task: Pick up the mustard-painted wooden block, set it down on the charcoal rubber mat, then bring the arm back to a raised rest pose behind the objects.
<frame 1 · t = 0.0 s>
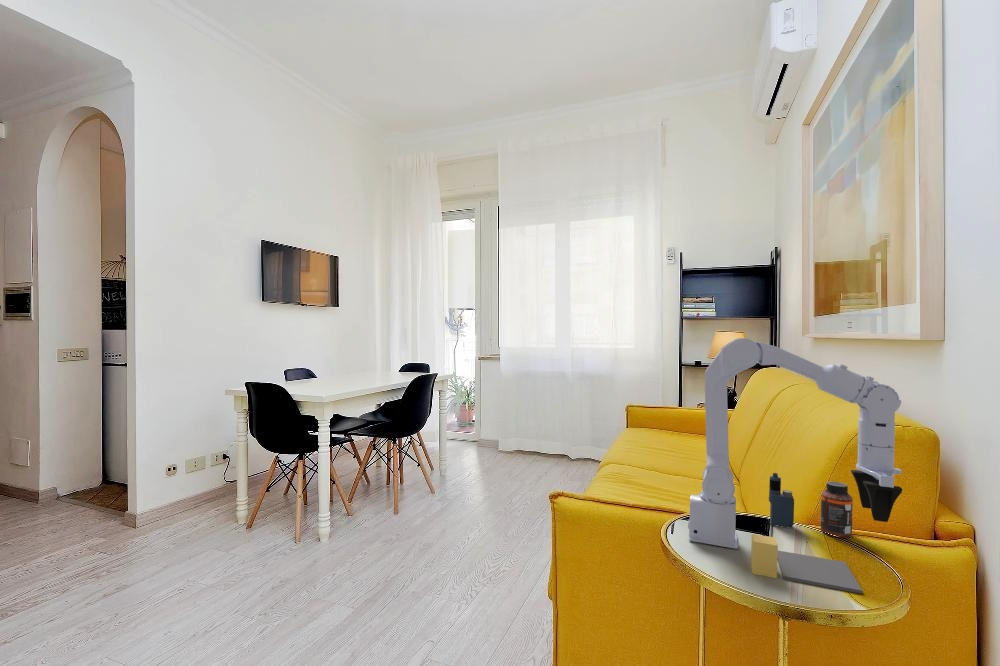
hand: (874, 514, 97), 10 cm above the table, fingers open, 7 cm apart
charcoal mat: (815, 571, 94), on the table
supplement bottle: (835, 534, 113), on the table
vaping device: (780, 526, 117), on the table
mustard block: (763, 571, 94), on the table
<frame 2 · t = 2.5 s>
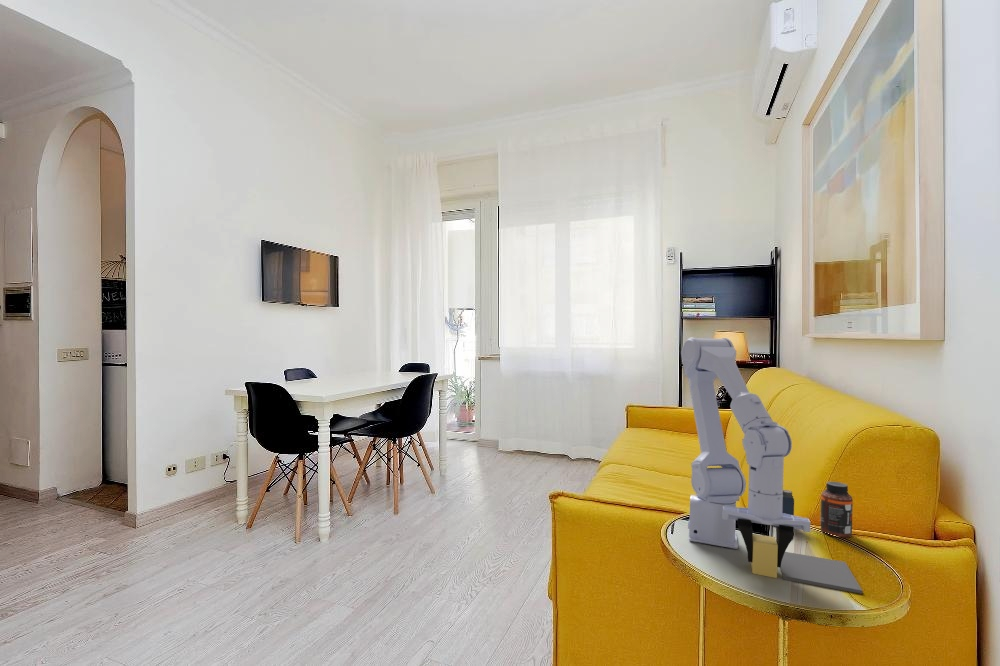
hand: (763, 562, 94), 2 cm above the table, fingers closed on mustard block, 4 cm apart
mustard block: (763, 571, 94), on the table, touching gripper
everything else where it was.
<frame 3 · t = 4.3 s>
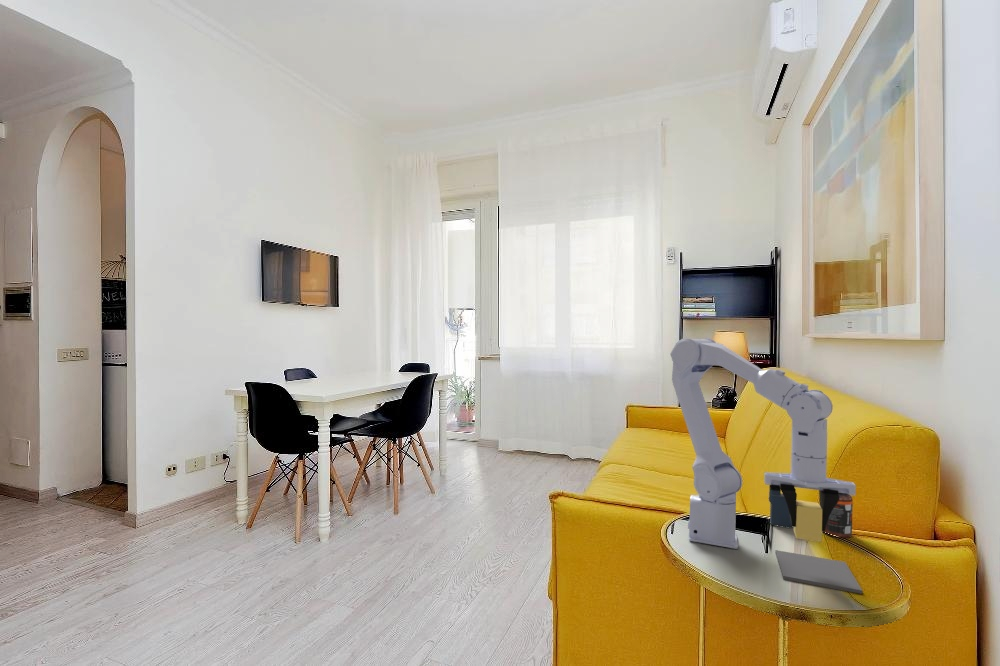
hand: (807, 527, 94), 8 cm above the table, fingers closed on mustard block, 4 cm apart
mustard block: (807, 536, 94), point 7 cm above the table, touching gripper
everything else where it was.
when the fingers open (4 cm above the table, at t = 6.0 s): mustard block drops 1 cm, resting on charcoal mat.
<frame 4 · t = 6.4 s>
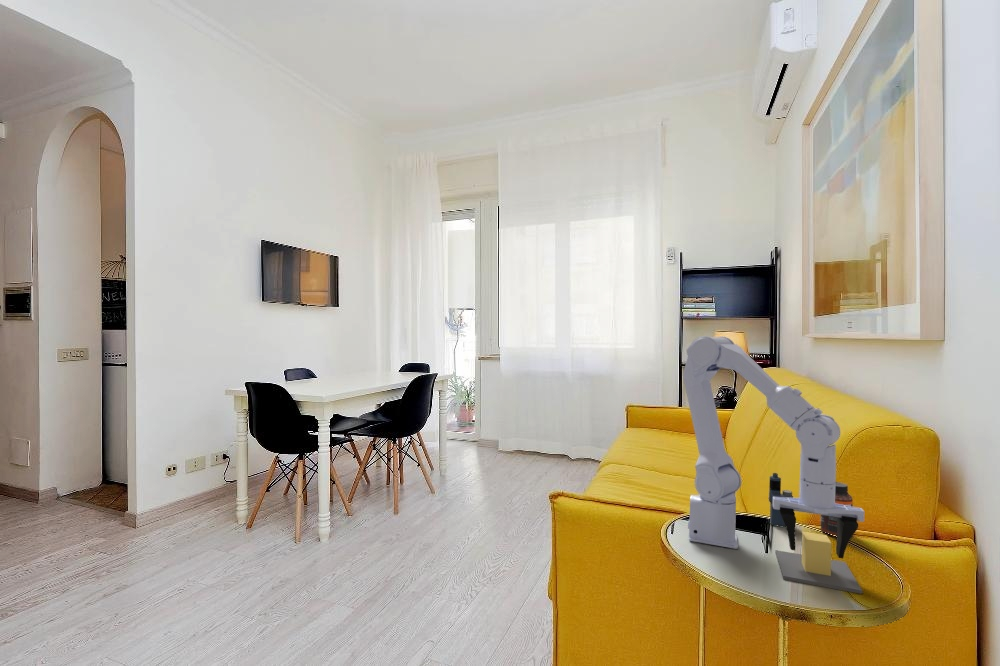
hand: (815, 552, 94), 4 cm above the table, fingers open, 7 cm apart
mustard block: (815, 568, 94), point 1 cm above the table, touching charcoal mat
everything else where it was.
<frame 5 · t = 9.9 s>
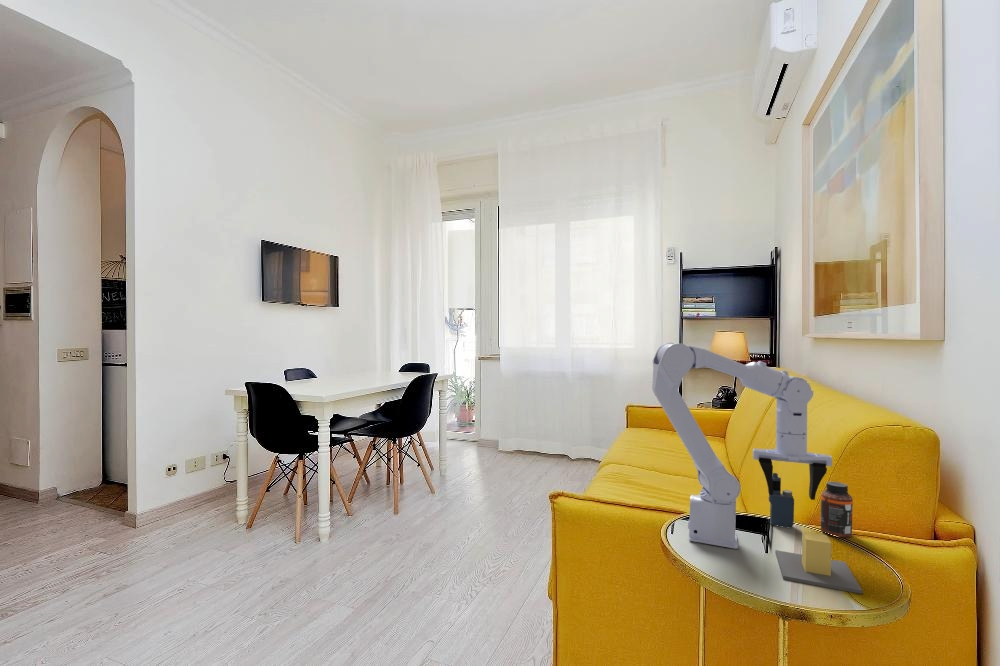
hand: (791, 495, 106), 10 cm above the table, fingers open, 7 cm apart
nothing on the table moved.
at the end: mustard block inside the target area on the charcoal mat (0.1 cm from its centre), point 0.6 cm above the charcoal mat's base; mustard block tilted 0°; the gripper is holding nothing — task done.
